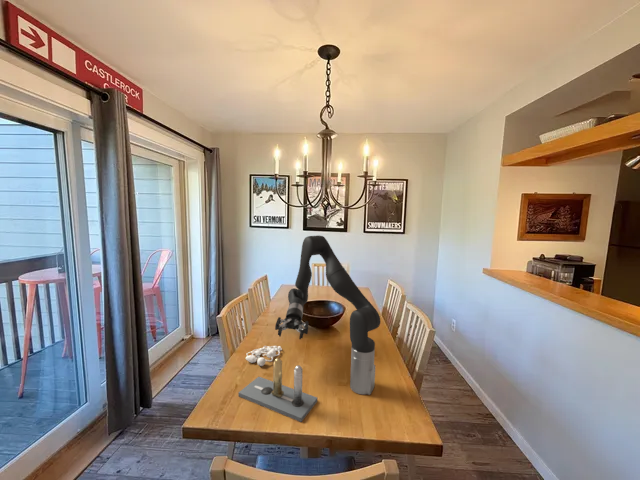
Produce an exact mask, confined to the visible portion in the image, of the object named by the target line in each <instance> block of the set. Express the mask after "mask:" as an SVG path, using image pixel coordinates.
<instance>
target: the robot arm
mask: <svg viewBox="0 0 640 480" xmlns="http://www.w3.org/2000/svg"><path fill="white" fill-rule="evenodd" d="M300 253H301V254H300V261H299V269H298V273H297V275H296V276H297V277H296V280H295V283H294V284H295V287H296V288H293V287H292V288H291V289H289V290H288V294H287V299H288V303H289V305H288V307H287V310H286V314H285V318H284V319H282V317H280V316H279V317H278V318H277V320H276V322H275V326H274V327H275V328H274V329H275V330H276V331H277V336H278V337H281V336H282V332H283V331H286V330H294V331H297V332H298V333H299V340H302V339H303V337H304V334H306V335H308V332H309V321H308V320H306V321H305V322H304V321H303V315H304V305H305V304H307V303H308V300H309V287H310V283H311V281H312V275H313V272H312V269H311V265H310V261H311V258H312V256H317V255H319V256H320V257H321V258H322V260H323V261H324V263H325V277H326V281H327V282H328V284H329V285H330V287H331V288H332V290H333V291H334V292H335V293H337V294H338V295H339V296H341V297H342V298H344V299H345V300H347V301H348V302H350V303H351V304H352V305H353V307H354V308H355V310H353V311H352V312H351V314H350V317H349V339H350V342H351V351H350V352H351V353H350V357H351V358H350V380H349V382H350V385H349V386H350V390H351V391H353V392H354V393H355V394H358V395H368V396H369V395H370V396H371V394H372V392H373V390H374V388H375V382H376V381H375V379H376V364H375V354H376V353H375V352H376V351H375V349H376V343H375V340H374V339H373V338H371V337H369V332H371V331H373V330H376V329H378V328H379V327H380V325H381V316H380V314H379V312H378V311H377V309H376V307H375V306H374V305H373V304H372V303H371V302H370V301H369V299H367V297H366V296H365V295H364V293H363V292H362V291H361V290H360V289H359V287H358V286H357V284H356V283H355V282H354V281H353V279H352V277H351V276H350V274H349V273H348V271H347V270H346V268H345V267H344V266H343V265H342V263H341V262H340V260H339V258H338V257H337V256H336V254H335V252H334V250H333V249H332V247H331V244H330V243H329V241H328V240H327V239H326V237H325V236H323V235H309V236H308V235H307V236H306V237H304V239H303V241H302V245H301V252H300Z"/></svg>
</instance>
